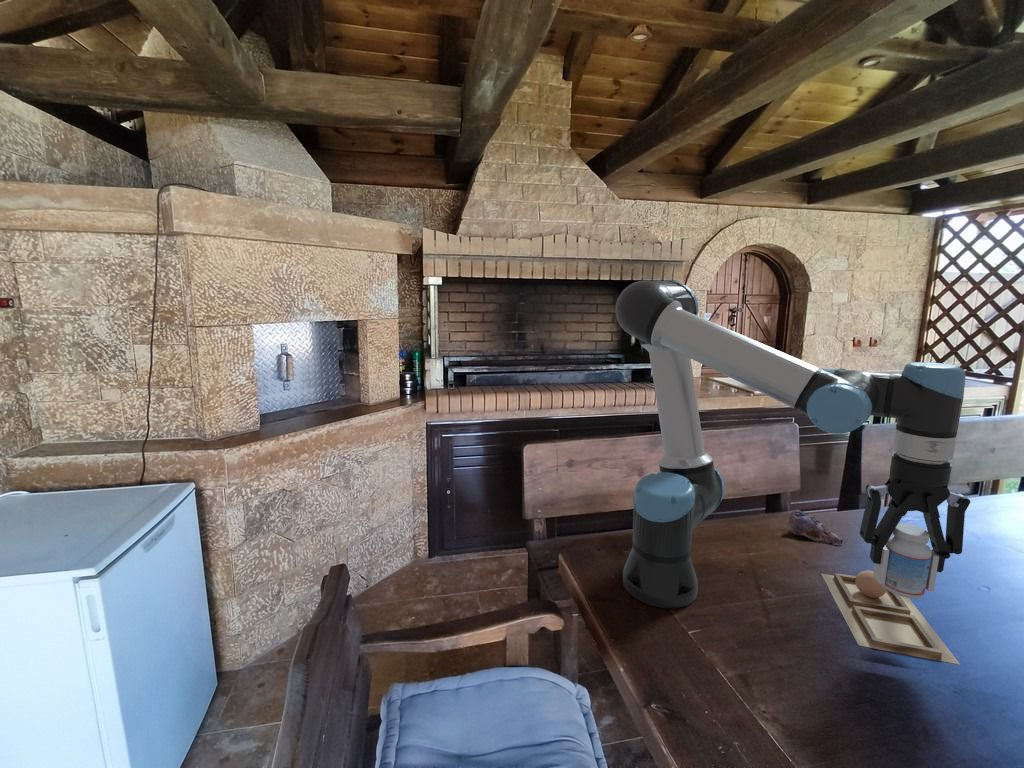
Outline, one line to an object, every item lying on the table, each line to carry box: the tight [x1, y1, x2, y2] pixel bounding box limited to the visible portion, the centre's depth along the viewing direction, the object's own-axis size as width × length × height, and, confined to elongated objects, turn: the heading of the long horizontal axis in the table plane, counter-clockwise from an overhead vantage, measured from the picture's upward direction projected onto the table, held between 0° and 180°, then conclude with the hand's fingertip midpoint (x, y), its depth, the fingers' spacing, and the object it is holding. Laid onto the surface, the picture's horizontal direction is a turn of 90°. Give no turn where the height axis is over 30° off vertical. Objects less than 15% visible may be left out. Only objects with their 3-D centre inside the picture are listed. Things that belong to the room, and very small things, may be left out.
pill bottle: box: [881, 523, 932, 599], centre depth 80 cm, size 6×6×11 cm
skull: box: [787, 510, 844, 546], centre depth 116 cm, size 12×8×6 cm, turn 30°
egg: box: [855, 569, 887, 598], centre depth 93 cm, size 5×5×5 cm
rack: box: [820, 572, 961, 666], centre depth 88 cm, size 14×22×2 cm, turn 161°
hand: (902, 582), depth 81 cm, fingers closed on pill bottle, 6 cm apart
